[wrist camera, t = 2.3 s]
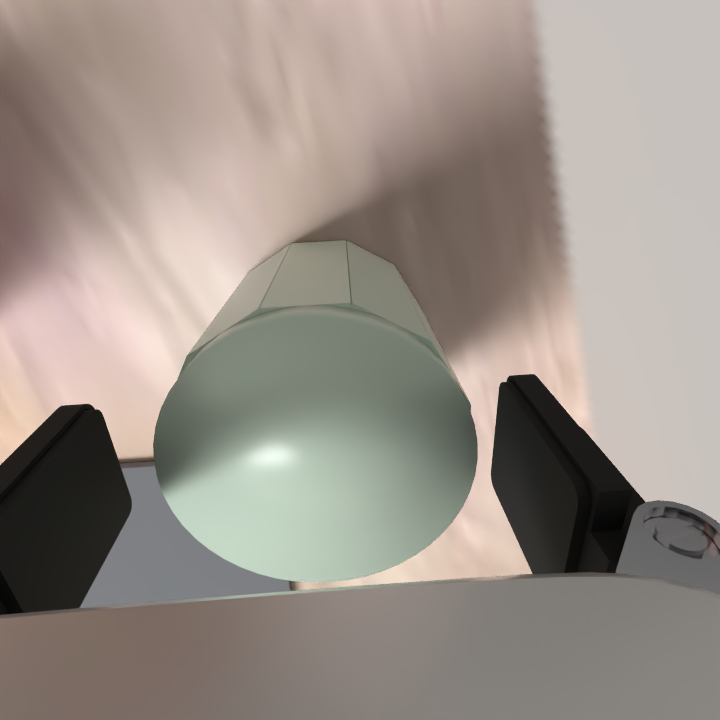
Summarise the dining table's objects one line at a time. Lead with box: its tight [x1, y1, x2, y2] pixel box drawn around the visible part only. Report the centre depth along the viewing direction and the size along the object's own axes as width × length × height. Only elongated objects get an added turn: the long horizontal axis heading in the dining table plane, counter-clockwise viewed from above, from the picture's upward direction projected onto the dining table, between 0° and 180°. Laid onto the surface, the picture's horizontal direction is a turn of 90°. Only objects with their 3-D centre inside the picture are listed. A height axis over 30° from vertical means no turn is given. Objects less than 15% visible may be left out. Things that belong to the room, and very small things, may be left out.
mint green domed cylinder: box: [153, 240, 478, 583], centre depth 15 cm, size 8×8×8 cm
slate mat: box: [80, 461, 292, 608], centre depth 23 cm, size 11×11×1 cm
